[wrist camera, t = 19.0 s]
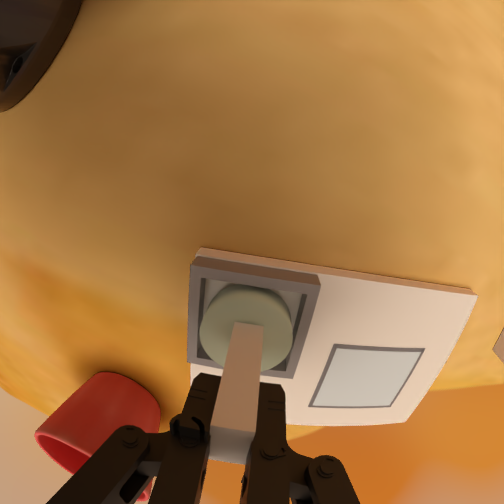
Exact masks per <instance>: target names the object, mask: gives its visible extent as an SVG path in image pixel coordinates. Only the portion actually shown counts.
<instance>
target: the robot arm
mask: <svg viewBox="0 0 504 504" xmlns="http://www.w3.org/2000/svg"><path fill="white" fill-rule="evenodd" d="M81 2H82V0H0V112H3V111H5V110H7V109H9V108H11V107H13V106H14V105H15V104H17V103H18V102H19V101H20V100H21V99H22V98H23V97H24V96H25V95H26V94H27V93H28V92H29V91H30V90H31V89H32V87H33V86H34V85H35V84H36V83H37V81H38V80H39V79H40V77H41V76H42V75H43V73H44V72H45V70H46V69H47V68H48V66H49V65H50V63H51V62H52V60H53V59H54V57H55V55H56V54H57V52H58V50H59V49H60V47H61V45H62V44H63V42H64V40H65V38H66V36H67V35H68V33H69V31H70V29H71V27H72V25H73V22H74V20H75V18H76V16H77V13H78V11H79V8H80V5H81ZM263 330H264V326H259V325H253V324H247V323H240V322H234V327H233V331H232V335H231V339H230V344H229V348H228V352H227V356H226V360H225V365H224V369H223V373H222V376H217V375H212V374H207V373H202V372H200V373H199V374H198V375H197V376H196V377H195V378H194V379H193V382H192V385H191V388H190V391H189V393H188V397H187V399H186V402H185V405H184V408H183V411H182V414H178V415H176V416H175V417H173V418H172V420H171V421H170V423H169V424H170V431H168V432H165V433H145V431H144V430H142V429H141V428H140V427H137V426H134V425H124V426H121V427H119V428H118V429H116V430H115V431H114V432H113V433H112V434H111V436H110V437H109V438H108V439H107V440H106V441H105V442H104V443H103V444H102V445H101V446H100V447H99V448H98V449H97V451H96V452H95V453H94V454H93V455H92V456H91V457H90V458H89V459H88V460H87V461H86V462H85V463H84V464H83V465H82V467H81V468H80V469H79V470H78V471H77V472H76V473H75V474H74V475H73V476H72V477H71V478H70V479H69V480H68V481H67V483H65V484H64V485H63V486H62V487H61V489H60V490H59V491H58V492H57V493H56V494H55V495H54V496H53V497H52V498H51V499H50V500H49V501H48V502H47V503H46V504H134V503H135V502H136V500H137V499H138V498H139V496H140V495H141V494H142V492H143V491H144V490H145V488H146V487H147V486H148V484H149V483H150V481H151V480H152V479H153V477H154V476H157V478H156V481H155V484H154V487H153V490H152V493H151V496H150V499H149V502H148V504H199V503H200V498H201V493H202V489H203V484H204V479H205V474H206V467H207V461H208V459H212V460H218V461H224V462H230V463H237V464H246V465H245V472H244V475H243V478H242V481H241V483H242V490H241V498H240V504H289V497H290V498H291V501H292V504H360V502H359V500H358V498H357V495H356V493H355V491H354V489H353V486H352V484H351V482H350V480H349V477H348V475H347V473H346V471H345V468H344V466H343V464H342V463H341V462H340V460H338V459H337V458H335V457H333V456H329V455H322V456H319V457H316V458H314V459H312V458H309V457H306V456H303V455H300V454H298V453H296V452H294V451H293V450H292V449H291V448H290V447H289V446H288V444H287V440H286V412H285V411H286V404H285V403H286V397H285V391H284V390H283V388H282V386H281V384H274V383H266V382H260V372H261V358H262V345H263Z"/></svg>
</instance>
